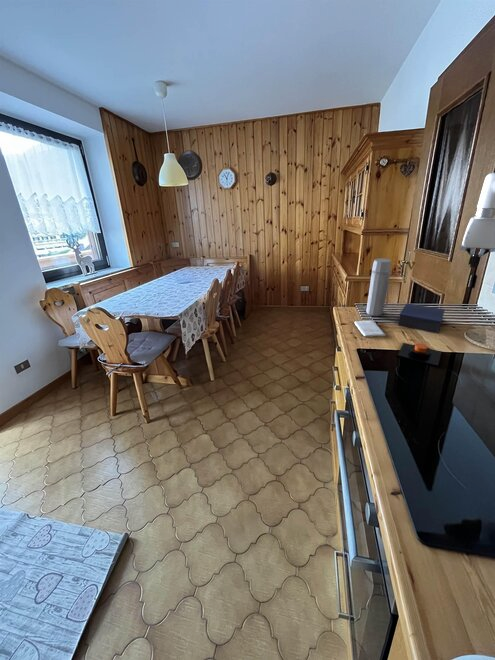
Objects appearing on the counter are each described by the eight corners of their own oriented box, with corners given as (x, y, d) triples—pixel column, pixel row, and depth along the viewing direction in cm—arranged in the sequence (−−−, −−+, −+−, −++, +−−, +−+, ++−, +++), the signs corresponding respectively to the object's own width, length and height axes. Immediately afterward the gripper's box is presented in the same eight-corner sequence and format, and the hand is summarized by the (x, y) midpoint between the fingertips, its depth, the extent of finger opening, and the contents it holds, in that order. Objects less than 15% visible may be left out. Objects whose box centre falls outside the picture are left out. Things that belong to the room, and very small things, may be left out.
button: (427, 349, 98) (428, 345, 97) (425, 354, 95) (426, 349, 94) (415, 346, 100) (416, 342, 99) (413, 351, 97) (414, 346, 96)
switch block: (440, 354, 99) (442, 347, 97) (437, 368, 92) (439, 361, 90) (402, 345, 105) (404, 338, 104) (396, 358, 98) (398, 351, 97)
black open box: (437, 333, 112) (440, 323, 110) (397, 325, 120) (399, 315, 118) (441, 320, 122) (444, 311, 120) (404, 313, 130) (406, 305, 128)
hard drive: (373, 323, 123) (385, 337, 112) (354, 324, 123) (364, 338, 112) (373, 320, 122) (385, 333, 111) (354, 321, 122) (364, 334, 111)
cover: (440, 323, 109) (441, 321, 109) (399, 315, 118) (399, 314, 117) (444, 311, 120) (444, 309, 119) (406, 304, 128) (406, 303, 127)
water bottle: (361, 313, 133) (369, 260, 122) (373, 309, 136) (381, 257, 125) (378, 319, 126) (387, 264, 114) (390, 315, 129) (400, 261, 117)
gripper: (517, 212, 94) (498, 266, 103) (462, 212, 103) (449, 262, 111) (518, 214, 89) (498, 271, 97) (461, 214, 97) (447, 267, 106)
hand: (472, 266), depth 104 cm, fingers closed
